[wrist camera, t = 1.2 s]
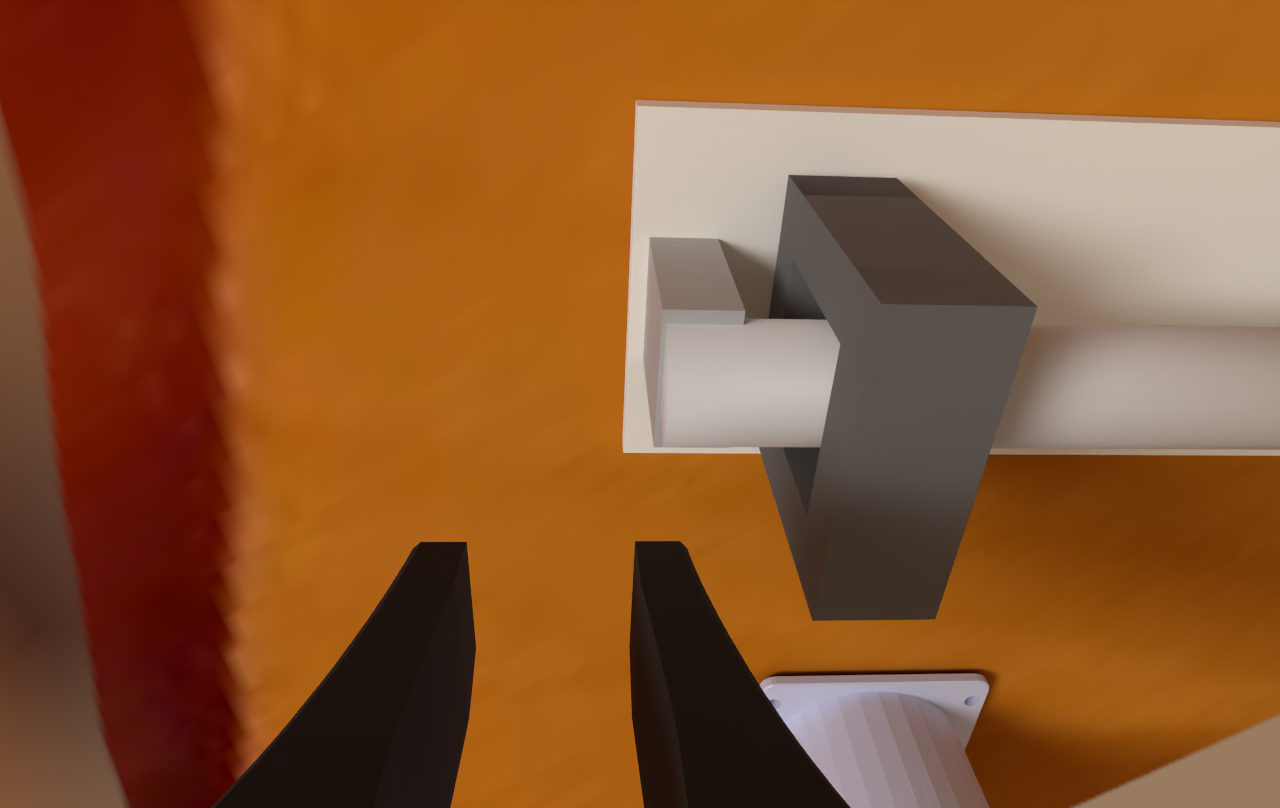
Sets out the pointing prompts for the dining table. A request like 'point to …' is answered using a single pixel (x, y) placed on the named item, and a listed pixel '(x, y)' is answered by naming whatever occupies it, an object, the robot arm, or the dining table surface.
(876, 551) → the grey square collar
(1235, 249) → the pipe rail
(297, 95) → the dining table surface
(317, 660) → the dining table surface
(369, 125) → the dining table surface
